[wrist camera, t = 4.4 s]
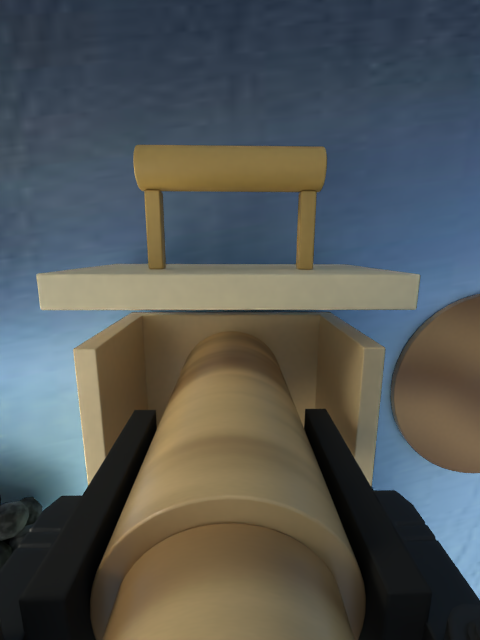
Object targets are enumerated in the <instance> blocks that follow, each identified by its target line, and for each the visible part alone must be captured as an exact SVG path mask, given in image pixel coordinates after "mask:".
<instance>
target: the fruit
mask: <svg viewBox="0 0 480 640" xmlns="http://www.w3.org/2000/svg"><path fill="white" fill-rule="evenodd" d="M0 504H1V497H0ZM41 513H42V506H41V504H40V503H39V502H38V501H37V500H36V499H35V498H34V497H26V498H24V499H22V500H20V501H16V502H6V503H4V504H1V505H0V569H1V568H2V567H3V565H4V564H5V563H6V561H7V560H8V558H9V557H10V556H11V554H12V553H13V551H14V550H15V549H17V548H18V545H19V543H20V542H21V540H22V539H23V538H24V536H25V535H26V534H27V533H29V531H30V528H31V527H32V525H33V524H34V523H35V521H36V520H37V518H38V517H39V516H40V514H41Z"/></svg>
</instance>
